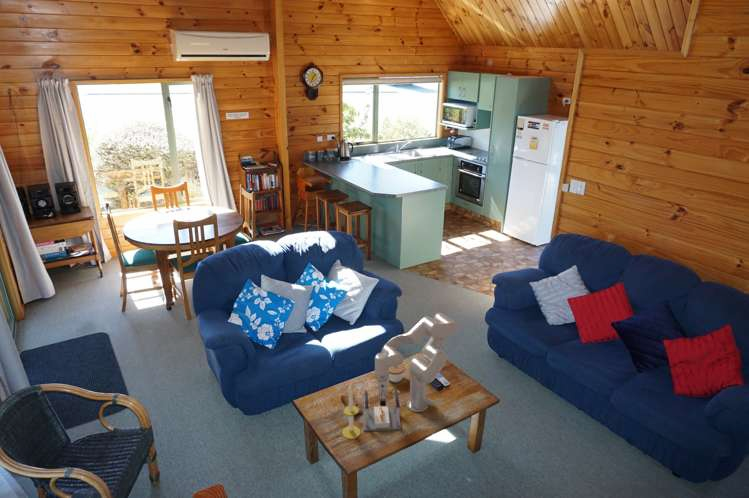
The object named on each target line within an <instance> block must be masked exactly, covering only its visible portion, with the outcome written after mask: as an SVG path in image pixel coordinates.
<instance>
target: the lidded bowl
mask: <svg viewBox="0 0 749 498" xmlns="http://www.w3.org/2000/svg"><path fill="white" fill-rule="evenodd" d="M405 373H406V365H405V364H404V362H403V363H402V364H400V365H398V366H393V367H389V378H388V379H387V380H389V381H390V382H392V383H400V382H401V381H402V379H404V376H405Z"/></svg>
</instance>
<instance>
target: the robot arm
mask: <svg viewBox="0 0 749 498" xmlns="http://www.w3.org/2000/svg"><path fill="white" fill-rule="evenodd" d="M459 328H460V326H459V324H458V323H457V322H456V321H455V320H454V319H452V318H450V317H449V316H448V315H446V314H444V313H442V312H437V313H436V314H434V316H433V318H432V317H430V316H429V315H428V316H423V317H422V318H421V319H420V320H418V322H417V323H415V325H414V326H412V327H411V328H410V329H409V330H408V331H407V332H406V333H403V334H398V335H396V336H394V337H392V338H391V339H389V340H388V341H387V342H386V343H385V344H384V345H383V346H382V349H381V352H378V353H377V354H375V356H374V378H375V379H376V380H377V390H378V396H379V398H380V400H379V405H380V406H381V407H383V406H387V400H386V397H388V396H389V395H388V393H389V389H388V380H389V379H388V378H389V367H393V366H398V365H400V364H402V363H403V364H404V359H405V358H404V356H403V354H402V353H401V352H399V351H398V350H397V348H398V347H399V346H402V345H414V346H416V345H418V344H420V343H421V342H422V341H423V340H424V339H425V337H427V336H430V338H429V339H428V341H426V343H425V345H424V346H423V347H422V349H421V354H422V356H423V357H424V358H425V359H426V360H427V361H428V362H427V361H426V360H424V359H423V358H421V357H418V356H416V357H412V358H411V360H410V361H409V364H408V371H409V378H410V379H409V381H410V382H409V398H408V400H407V401H406V407H407V409H409V410H410V411H411V412H415V413H421V412H425V411H426V410H427V409H428V408H429V405H434V404H435V403H434V400H432V397H427V384H430V383H432V382H433V381H434V380H436V377H438V375H439V373H440V372H441V371H442V369H443V368H444V366H445V365H446V363H447V360H448V355H447V353H446V352H445V351H444V350H443V349H442V348H443V347H444V345H445V343H446V342H447V338H449V337H452V336H455V335H456V334H457V333H458V332H459V330H460V329H459Z"/></svg>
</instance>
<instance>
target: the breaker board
mask: <svg viewBox="0 0 749 498" xmlns="http://www.w3.org/2000/svg"><path fill="white" fill-rule="evenodd" d="M397 392H398V395H400V390H397ZM367 393H368V396H370V391H367ZM392 394H393V396H394V397H393V408H390V409H389V406H387V405H386V406H381V407H382V415H383V419H382V420H381V418H380V409H379V406H373V409H370V408H371V405H370V403H368V409H366V408H365V391H362V395H363V396H364V399H363V401H364V403H363V409H362V410H363V414H362V417H363V419H362V421H363V432H374V431H375V432H376V431H398V430H399V431H401V430H402V426H401V418H400V416H401V415H400V413H401V412H400V409H401V408H402V403H401V402H399V406H400V407H399V408H397V406H396V398H395V390H392Z"/></svg>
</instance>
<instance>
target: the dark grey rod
mask: <svg viewBox="0 0 749 498" xmlns="http://www.w3.org/2000/svg"><path fill="white" fill-rule="evenodd" d="M364 394H365V408H366V409H368V407H369V395H368V391H367V390H365V391H364Z"/></svg>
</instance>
